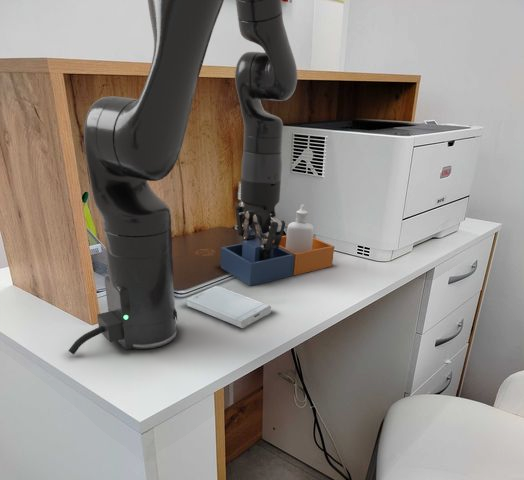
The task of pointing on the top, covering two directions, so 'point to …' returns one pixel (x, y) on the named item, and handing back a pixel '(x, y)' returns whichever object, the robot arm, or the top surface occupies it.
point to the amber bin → (311, 256)
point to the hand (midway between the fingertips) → (256, 262)
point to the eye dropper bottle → (300, 233)
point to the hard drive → (229, 306)
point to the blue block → (252, 250)
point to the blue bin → (256, 265)
